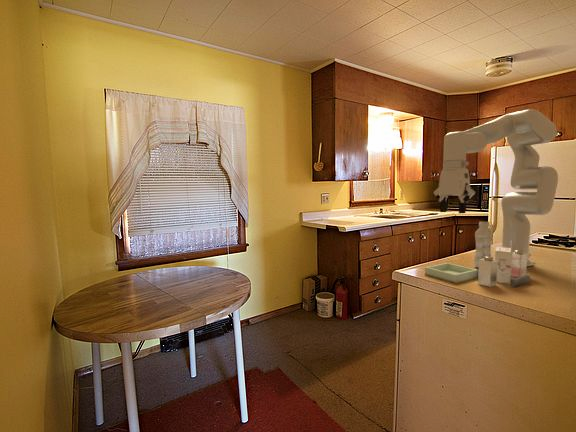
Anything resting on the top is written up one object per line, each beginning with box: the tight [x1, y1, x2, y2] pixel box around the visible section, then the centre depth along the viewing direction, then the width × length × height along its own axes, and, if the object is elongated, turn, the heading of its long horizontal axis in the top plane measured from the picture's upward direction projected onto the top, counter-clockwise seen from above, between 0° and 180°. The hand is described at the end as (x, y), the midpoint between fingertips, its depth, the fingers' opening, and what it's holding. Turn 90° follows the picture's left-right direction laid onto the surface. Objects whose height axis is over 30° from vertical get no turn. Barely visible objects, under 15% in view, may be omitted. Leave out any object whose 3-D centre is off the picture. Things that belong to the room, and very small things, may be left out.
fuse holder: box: [477, 250, 531, 288], centre depth 110 cm, size 24×12×10 cm, turn 117°
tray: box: [424, 262, 479, 284], centre depth 117 cm, size 14×13×3 cm
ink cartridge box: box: [494, 240, 512, 285], centre depth 110 cm, size 9×5×15 cm, turn 143°
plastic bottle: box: [473, 220, 494, 269], centre depth 126 cm, size 6×7×20 cm
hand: (452, 212), depth 115 cm, fingers open, 6 cm apart
